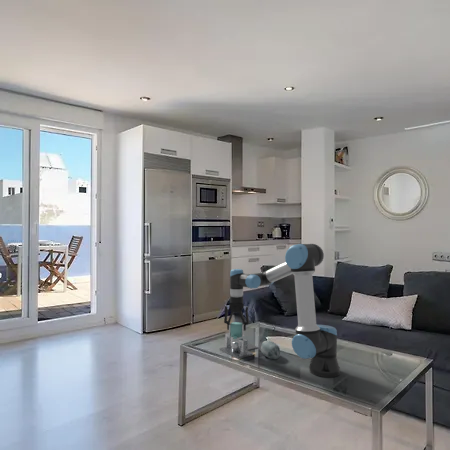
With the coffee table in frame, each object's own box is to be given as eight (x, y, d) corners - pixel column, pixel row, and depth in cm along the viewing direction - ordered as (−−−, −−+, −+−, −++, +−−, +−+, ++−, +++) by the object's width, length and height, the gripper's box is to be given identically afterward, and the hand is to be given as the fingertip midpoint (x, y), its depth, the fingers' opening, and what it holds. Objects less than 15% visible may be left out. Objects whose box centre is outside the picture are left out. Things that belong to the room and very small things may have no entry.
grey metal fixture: (253, 355, 215) (253, 339, 215) (237, 358, 208) (237, 342, 208) (234, 346, 229) (234, 331, 229) (219, 349, 223) (219, 334, 223)
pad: (258, 348, 227) (258, 347, 227) (247, 350, 223) (247, 349, 223) (250, 344, 234) (250, 343, 234) (239, 346, 229) (239, 345, 229)
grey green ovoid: (286, 354, 207) (276, 337, 208) (272, 363, 204) (262, 347, 205) (277, 352, 220) (268, 337, 221) (264, 361, 217) (255, 345, 218)
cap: (241, 339, 212) (241, 326, 212) (228, 338, 213) (228, 326, 213) (243, 333, 225) (243, 321, 225) (232, 332, 226) (232, 320, 226)
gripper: (254, 295, 221) (254, 334, 221) (220, 294, 225) (220, 333, 224) (253, 297, 214) (252, 338, 213) (218, 296, 217) (218, 336, 217)
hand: (236, 335), depth 219 cm, fingers closed on cap, 7 cm apart
